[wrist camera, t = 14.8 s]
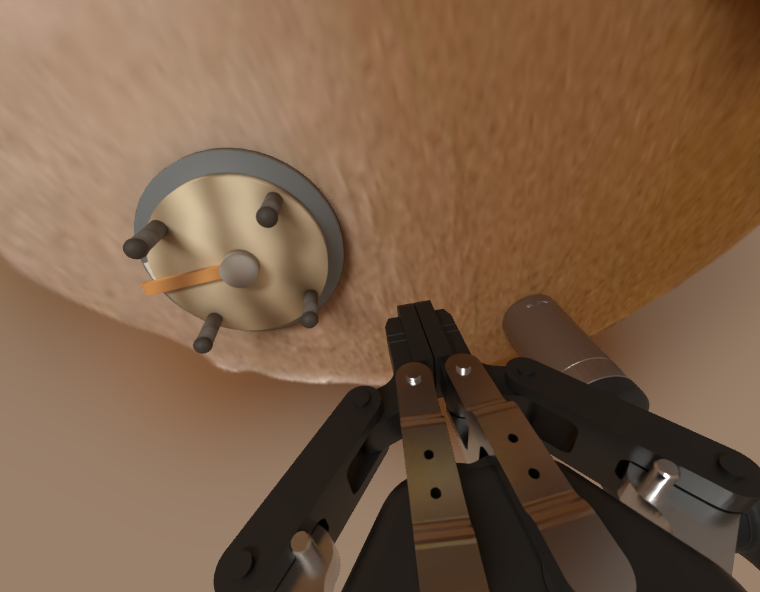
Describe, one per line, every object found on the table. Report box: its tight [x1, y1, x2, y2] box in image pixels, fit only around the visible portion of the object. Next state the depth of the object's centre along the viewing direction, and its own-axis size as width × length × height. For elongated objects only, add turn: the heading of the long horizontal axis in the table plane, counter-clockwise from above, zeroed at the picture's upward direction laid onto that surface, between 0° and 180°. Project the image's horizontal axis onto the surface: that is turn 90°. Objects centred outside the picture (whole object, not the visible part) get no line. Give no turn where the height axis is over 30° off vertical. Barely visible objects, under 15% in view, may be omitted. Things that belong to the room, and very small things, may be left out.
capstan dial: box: [123, 172, 328, 353], centre depth 38 cm, size 22×20×8 cm
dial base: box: [134, 148, 344, 331], centre depth 42 cm, size 24×24×2 cm
